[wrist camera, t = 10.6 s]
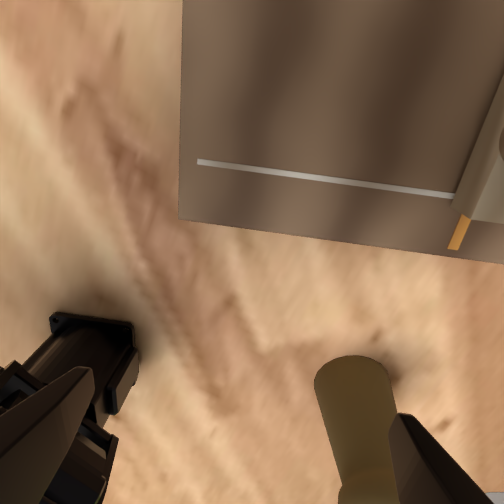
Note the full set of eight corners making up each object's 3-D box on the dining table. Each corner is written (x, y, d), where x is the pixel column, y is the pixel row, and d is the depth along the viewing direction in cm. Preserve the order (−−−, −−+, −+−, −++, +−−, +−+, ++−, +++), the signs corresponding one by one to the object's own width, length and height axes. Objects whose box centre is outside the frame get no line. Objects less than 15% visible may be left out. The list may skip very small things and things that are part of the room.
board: (186, 208, 21) (177, 219, 19) (196, -82, 15) (184, -108, 13) (496, 251, 21) (518, 266, 19) (634, -27, 15) (687, -45, 13)
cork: (353, 342, 24) (405, 508, 15) (405, 383, 26) (485, 560, 16) (298, 384, 27) (310, 552, 17) (349, 419, 28) (388, 594, 18)
